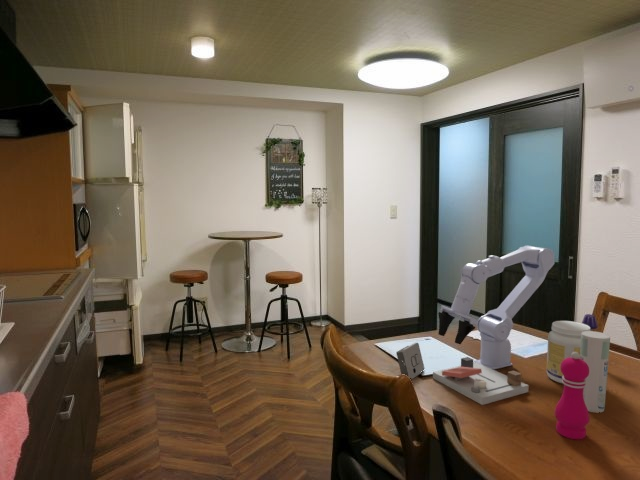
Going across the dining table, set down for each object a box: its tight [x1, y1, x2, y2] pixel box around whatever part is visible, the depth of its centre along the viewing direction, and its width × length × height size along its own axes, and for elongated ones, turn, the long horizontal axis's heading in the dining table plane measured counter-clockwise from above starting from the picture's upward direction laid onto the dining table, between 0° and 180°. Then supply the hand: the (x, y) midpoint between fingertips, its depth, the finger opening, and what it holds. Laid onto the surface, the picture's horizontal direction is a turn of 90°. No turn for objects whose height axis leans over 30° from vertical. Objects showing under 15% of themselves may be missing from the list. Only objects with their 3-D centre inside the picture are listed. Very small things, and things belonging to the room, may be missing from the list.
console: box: [432, 362, 529, 406], centre depth 137 cm, size 18×20×6 cm
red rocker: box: [442, 367, 482, 378], centre depth 137 cm, size 8×8×1 cm
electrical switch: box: [396, 342, 425, 380], centre depth 146 cm, size 9×5×9 cm, turn 141°
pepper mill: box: [554, 352, 590, 440], centre depth 109 cm, size 7×7×20 cm
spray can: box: [580, 331, 611, 414], centre depth 122 cm, size 6×6×20 cm
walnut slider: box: [506, 370, 522, 386], centre depth 133 cm, size 2×3×3 cm
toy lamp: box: [581, 313, 598, 331], centre depth 153 cm, size 5×5×17 cm
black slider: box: [460, 356, 474, 368], centre depth 144 cm, size 3×2×3 cm
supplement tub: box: [545, 320, 590, 384], centre depth 141 cm, size 12×12×17 cm
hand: (449, 339), depth 147 cm, fingers open, 7 cm apart
